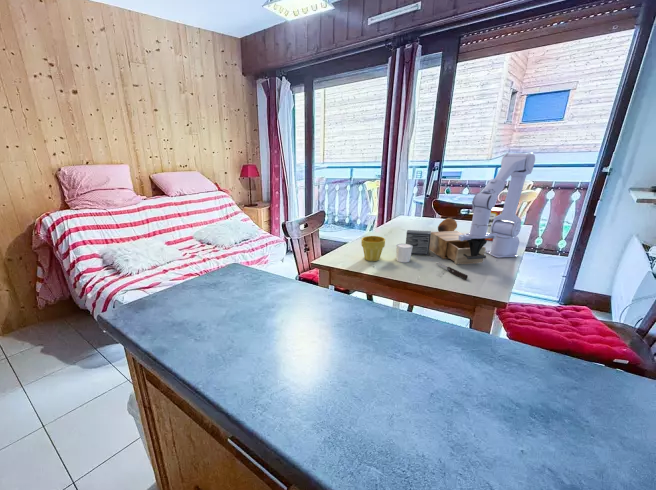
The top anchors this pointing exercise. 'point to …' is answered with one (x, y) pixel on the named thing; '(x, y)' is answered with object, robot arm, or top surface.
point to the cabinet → (443, 241)
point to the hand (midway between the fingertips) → (473, 255)
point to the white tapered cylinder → (403, 252)
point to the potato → (447, 225)
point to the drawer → (463, 253)
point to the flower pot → (372, 247)
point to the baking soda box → (493, 214)
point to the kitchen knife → (453, 271)
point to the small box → (419, 241)
